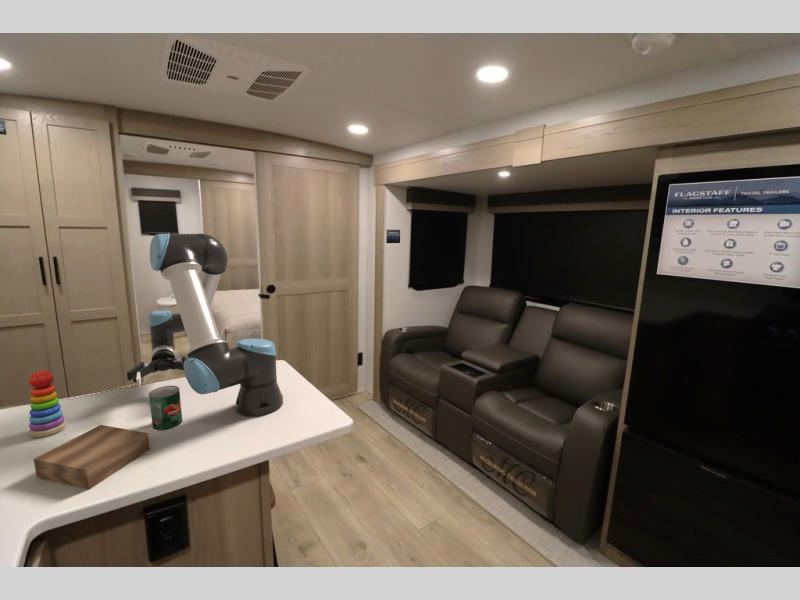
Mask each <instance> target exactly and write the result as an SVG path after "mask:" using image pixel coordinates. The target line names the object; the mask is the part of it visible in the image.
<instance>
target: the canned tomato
mask: <svg viewBox="0 0 800 600" xmlns="http://www.w3.org/2000/svg"><path fill="white" fill-rule="evenodd" d="M148 397H149V399H148V400H149V408H150V415H151V416H150V417H151V424H152V429H153V430H154V431H155V430H156V431H157V432H167V431H170V429H171V430H173V428H174V429H176V428H178V427H179V426H181V425H182V424H181V423H183V413H182V404H181V392H180V387H179V386H178V385H164V386H163V385H162V386H159V387H157V388H154V389H152V390H150V392H149V393H148ZM180 424H181V425H180ZM177 426H178V427H177ZM175 427H176V428H175ZM166 430H167V431H166Z"/></svg>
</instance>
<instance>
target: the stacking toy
mask: <svg viewBox="0 0 800 600" xmlns="http://www.w3.org/2000/svg"><path fill="white" fill-rule="evenodd" d="M54 378H55V377H54V374H53V373H52V372H50V371H48V370H44V369H42V370H37V371H35V372H33V373H32V374H31V375H30V376H29V378H28V383H29V384H30V386H31V387H32V388H31V390H30V395H31V396H30V401H31V403H30V408H31V409H30V410H29V415H30V416H29V419H28V420H29V422H30V423H29V424H28V427H29V431H28V435H29V436H31V437H33V438H43V437H44V438H45V437H49V436H52V435H55V434H58V433H60V432H61V431H63V430H64V429H65V428H66V426H67V422H66V421H65V415H63V413H64V412H63V410H62V409H61V407H62V406H61V404H60V399H59V397H58V393H57V392H56V391H55V389H56V387H55V385H53V384H52V383H53V382H54Z"/></svg>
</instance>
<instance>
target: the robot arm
mask: <svg viewBox="0 0 800 600" xmlns="http://www.w3.org/2000/svg"><path fill="white" fill-rule="evenodd" d="M149 245H150V246H149V261H150V267H151V269H152V270H153V271H156V272H159V271H160V275H161V276H162V278H163V279H165V280H167V281H169V283H170V287H171V289H172V290H171V291H172V293H173V296H174V299H175V302H176V306H177V309H178V313H174V314H172V311H170V310H167V309H165V310H164V309H163V310H154V311H151V312H150V313H149V315H148V325H149V332H150V342H151V361H150V362H149V363H145V362H144V361H142V362H140V363H139V364H138V365H136V366H135V367H134V368H132V369H130V370H129V371H127V372H126V377H127V381H131V380H132V382H133V383H136V388H141V384H142V383H141V382H142V378H143V377H146V376H148V375H150V374H152V373H156V372H159V371H160V372H165V371H169V370H173V371H175V370H181V371H184V375H185V376H184V377H185V379H186V381H187V383H188V385H189V386H190V388H191V389H192V390H193V391H194V392H195V393H196V394H199V395H207V394H212V393H217V392H218V391H220V390H225V389H228V388H231V387H234V386H237V385H239V389H238V393H237V397H236V400H235V411H236V412H237V413H238V414H241V416H247V417H257V416H263V415H269V414H272V413H273V412H275V411H277V410H279V409H280V408H281V407H282V406H283V404H284V396H283V394H282V391H281V389H280V387H279V386H280V385H279V383H278V380H277V379H278V377H277V352H276V351H277V350H276V347H275V343H274V342H273V341H272V340H268V339H264V338H244V339H243V338H242V339H241V340H238V341H237V342H236V347H233V348H231V347H230V346H229V343H228V342H227V341H226V340H224V339H222V338H221V336H220V333H219V330H218V327H217V324H216V322H215V318H214V315H213V312H212V310H211V307H212V304H213V300H214V298H215V295H216V292H217V289H218V286H219V285H218V284H219V282H220V279H221V276H222V275H223V274H224V273H226V271H227V268H228V264H229V259H228V253H227V250H226V248H225V246H224V245H223V243H222V242H221V241H220V240H219V239H217V238H216V237H215V236H213V235H211V234H210V235H209V234H207V233H170V232H168V233H157V234H154V236H153V237H152V238H151V240H150V244H149ZM183 332H185V333H186V334H185V335H186V337H187V340H188V344H189V346H190V349H188V352H187V354H186V356H187V358H186V356H181V358H178V359H177V358H176V350H175V349H176V345H175V336H174V334H178V333H179V334H180V333H183Z"/></svg>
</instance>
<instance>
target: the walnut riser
mask: <svg viewBox="0 0 800 600" xmlns="http://www.w3.org/2000/svg"><path fill="white" fill-rule="evenodd" d="M150 449H151V447H150V437H149V433H148V432H145V431H144V432H143V431H138V430H133V429H127V428H123V427H122V428H121V427H116V426H109V425H103V424H99V425H97V426H96V427H94V428H92V429H90V430H88V431H85V432H84V433H82V434H80V435H78V436H75V437H74V438H72V439H70V440H68V441H65V442H64V443H62V444H61V445H58V446H57V447H54V448H53V449H51V450H49V451H47V452H45V453H43V454H41V455H39V456H37V457H34V458H33V464H34V469H35V474H36V478H37V479H42V480H46V481H50V482H56V483H59V484H63V485H68V486H74V487H79V488H83V489H87V490H91V489H93V488H94V487H96V486H97V485H98V484H100V483H102V482H103V481H104V480H107V479H108V478H109V477H111V476H112V475H114V474H115V473H117V472H118V471H119V470H121V469H122V468H124V467H127V465H128V464H130V463H132V462H133V461H135V460H136V459H138V458H140V457H141V456H143V455H144V454H146V453H147V452H149V451H150Z"/></svg>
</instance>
